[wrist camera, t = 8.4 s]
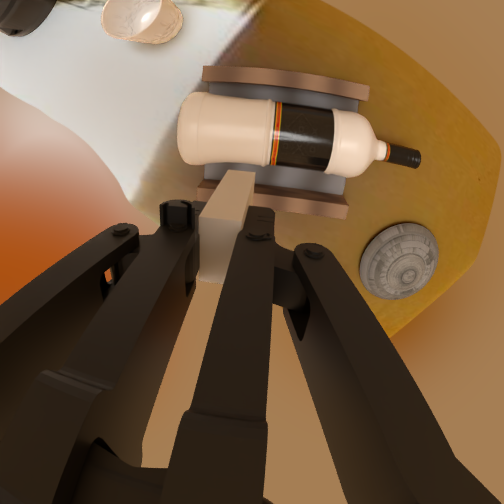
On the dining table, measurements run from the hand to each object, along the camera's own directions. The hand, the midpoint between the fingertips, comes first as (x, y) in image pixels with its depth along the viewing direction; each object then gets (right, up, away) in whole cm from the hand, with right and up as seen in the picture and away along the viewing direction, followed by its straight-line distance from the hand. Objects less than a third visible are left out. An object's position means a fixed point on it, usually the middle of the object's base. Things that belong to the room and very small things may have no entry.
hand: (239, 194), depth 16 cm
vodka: (-8, +12, +17) cm, 22 cm away
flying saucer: (+26, -4, +30) cm, 40 cm away
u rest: (+4, +13, +22) cm, 26 cm away
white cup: (-12, +29, +14) cm, 34 cm away
